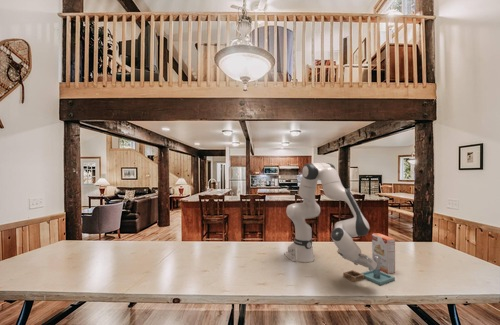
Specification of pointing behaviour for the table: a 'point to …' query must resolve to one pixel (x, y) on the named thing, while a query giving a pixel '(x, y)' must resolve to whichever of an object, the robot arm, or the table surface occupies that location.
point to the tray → (383, 279)
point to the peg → (377, 270)
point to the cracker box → (384, 252)
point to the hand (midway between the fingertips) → (364, 266)
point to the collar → (351, 275)
